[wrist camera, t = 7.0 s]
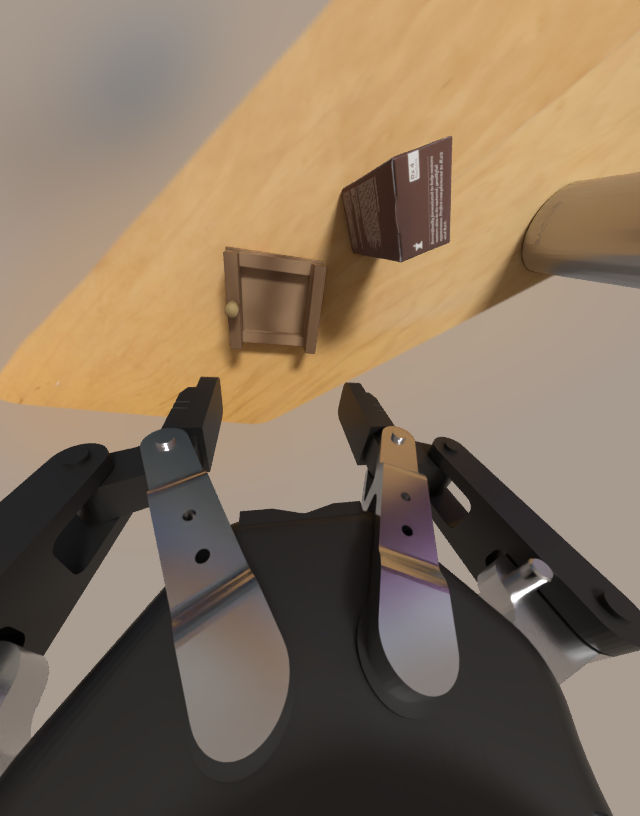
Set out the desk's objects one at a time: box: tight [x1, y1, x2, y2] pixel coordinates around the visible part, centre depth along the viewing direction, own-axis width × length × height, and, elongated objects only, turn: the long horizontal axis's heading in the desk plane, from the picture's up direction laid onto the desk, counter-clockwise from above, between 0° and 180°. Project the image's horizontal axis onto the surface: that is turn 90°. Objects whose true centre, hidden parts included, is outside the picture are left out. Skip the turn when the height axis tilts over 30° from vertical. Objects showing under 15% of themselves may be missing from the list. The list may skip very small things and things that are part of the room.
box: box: [342, 136, 452, 262], centre depth 21 cm, size 6×4×12 cm
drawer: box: [223, 247, 327, 354], centre depth 27 cm, size 10×10×6 cm
